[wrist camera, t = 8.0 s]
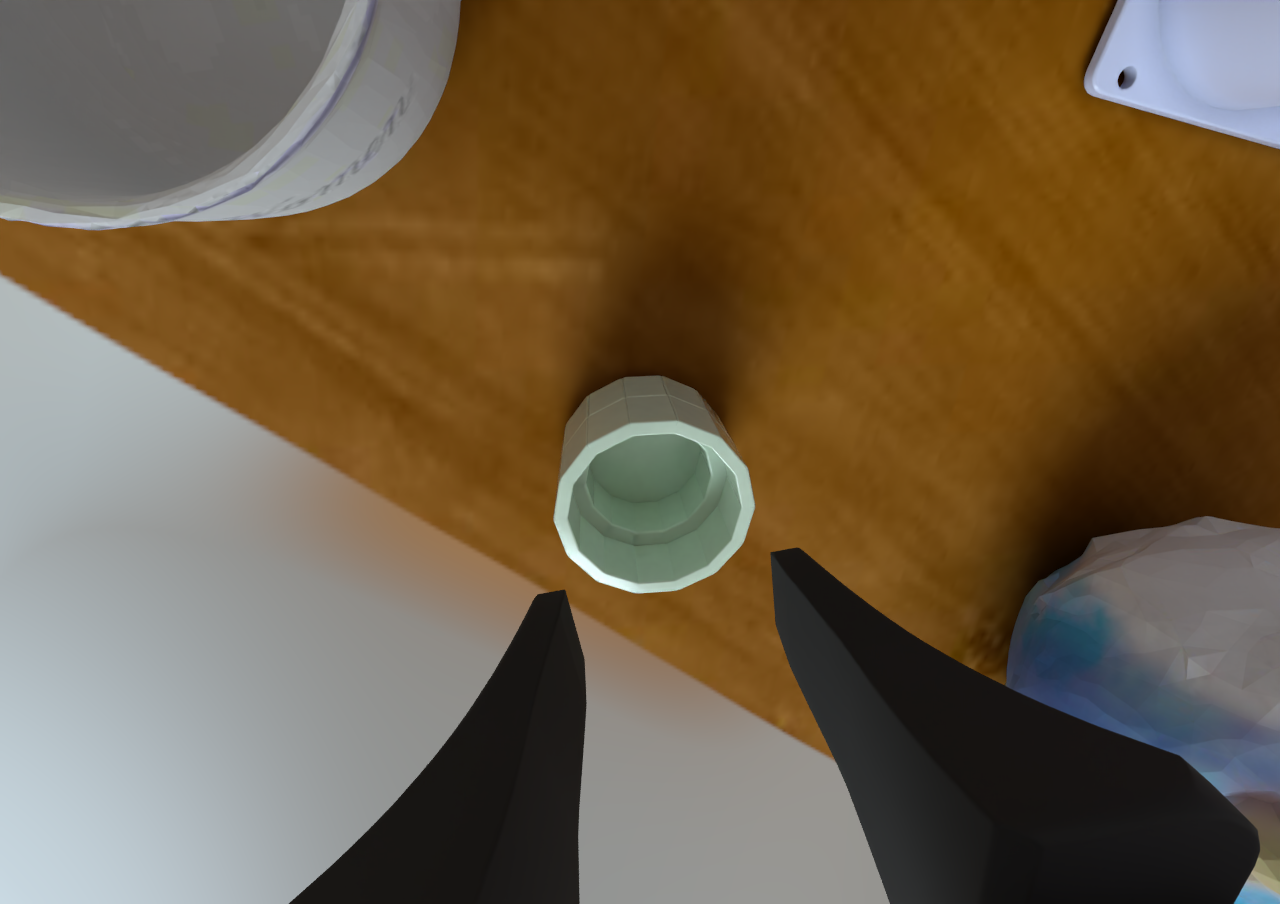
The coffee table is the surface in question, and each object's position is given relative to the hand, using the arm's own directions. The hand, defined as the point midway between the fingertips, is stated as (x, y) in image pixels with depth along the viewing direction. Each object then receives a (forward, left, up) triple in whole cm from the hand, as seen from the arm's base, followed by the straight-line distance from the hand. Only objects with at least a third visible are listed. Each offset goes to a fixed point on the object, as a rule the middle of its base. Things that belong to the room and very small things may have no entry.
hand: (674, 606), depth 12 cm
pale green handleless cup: (0, 0, -8) cm, 8 cm away
